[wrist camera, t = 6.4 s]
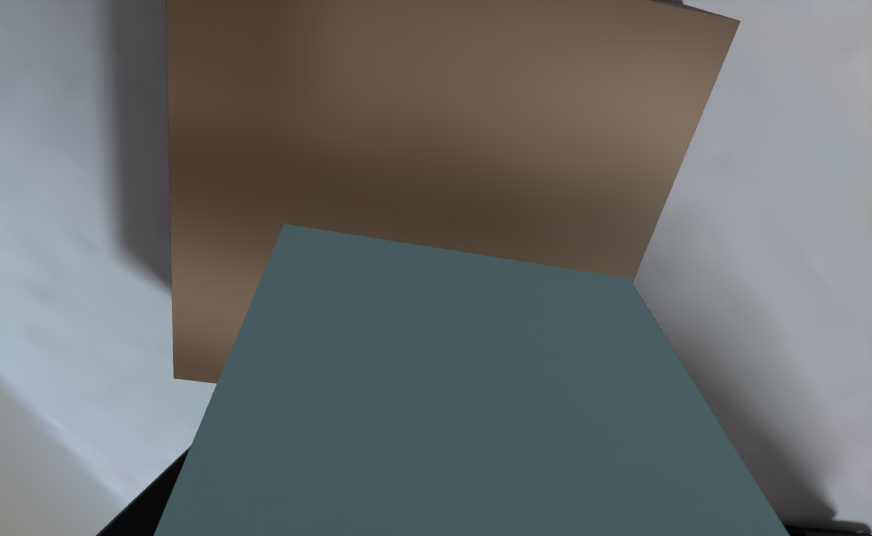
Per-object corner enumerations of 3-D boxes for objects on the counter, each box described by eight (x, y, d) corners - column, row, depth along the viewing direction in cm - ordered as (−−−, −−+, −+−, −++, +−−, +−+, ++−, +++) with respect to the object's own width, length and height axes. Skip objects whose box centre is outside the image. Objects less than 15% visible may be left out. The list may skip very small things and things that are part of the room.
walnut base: (552, 364, 21) (572, 425, 19) (204, 318, 20) (173, 378, 17) (685, 4, 16) (740, 21, 13) (209, -101, 14) (163, -106, 11)
